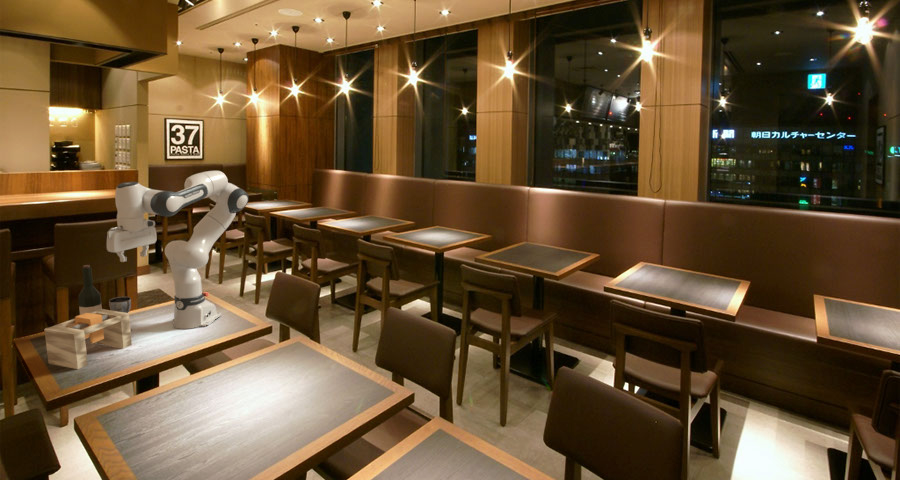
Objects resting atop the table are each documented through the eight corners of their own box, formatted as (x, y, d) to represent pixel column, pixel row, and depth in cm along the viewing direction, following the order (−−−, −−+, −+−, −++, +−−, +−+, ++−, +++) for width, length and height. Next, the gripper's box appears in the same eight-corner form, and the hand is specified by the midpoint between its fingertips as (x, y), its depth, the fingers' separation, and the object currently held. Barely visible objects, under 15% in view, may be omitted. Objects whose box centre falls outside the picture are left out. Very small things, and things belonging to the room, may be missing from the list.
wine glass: (137, 329, 229) (134, 297, 226) (124, 335, 221) (121, 303, 218) (121, 327, 230) (118, 296, 227) (107, 334, 222) (104, 301, 219)
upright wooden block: (89, 336, 205) (86, 312, 203) (104, 338, 203) (101, 315, 201) (77, 340, 200) (74, 316, 198) (92, 343, 199) (90, 319, 197)
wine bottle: (99, 326, 230) (93, 262, 224) (107, 330, 226) (101, 265, 220) (78, 331, 224) (71, 265, 218) (85, 336, 219) (78, 269, 213)
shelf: (104, 340, 216) (101, 309, 213) (131, 344, 213) (129, 313, 210) (48, 363, 193) (44, 329, 190) (77, 369, 190) (74, 334, 187)
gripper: (114, 229, 186) (117, 265, 188) (158, 221, 205) (160, 254, 208) (100, 227, 187) (103, 264, 190) (145, 219, 206) (147, 252, 209)
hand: (133, 258), depth 199 cm, fingers open, 8 cm apart
